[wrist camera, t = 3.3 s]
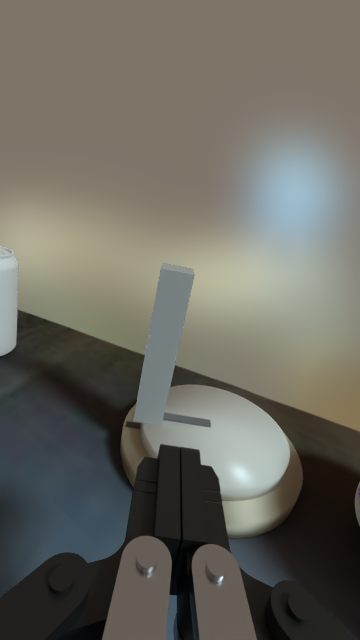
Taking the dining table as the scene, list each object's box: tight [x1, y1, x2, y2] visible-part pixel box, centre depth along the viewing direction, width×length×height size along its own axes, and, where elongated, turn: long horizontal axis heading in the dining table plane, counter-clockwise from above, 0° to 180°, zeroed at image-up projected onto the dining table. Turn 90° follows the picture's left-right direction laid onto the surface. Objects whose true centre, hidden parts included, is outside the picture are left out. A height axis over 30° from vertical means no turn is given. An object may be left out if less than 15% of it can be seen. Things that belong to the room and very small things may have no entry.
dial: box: [133, 263, 290, 501], centre depth 26 cm, size 14×13×14 cm
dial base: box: [120, 404, 303, 539], centre depth 28 cm, size 16×16×2 cm
